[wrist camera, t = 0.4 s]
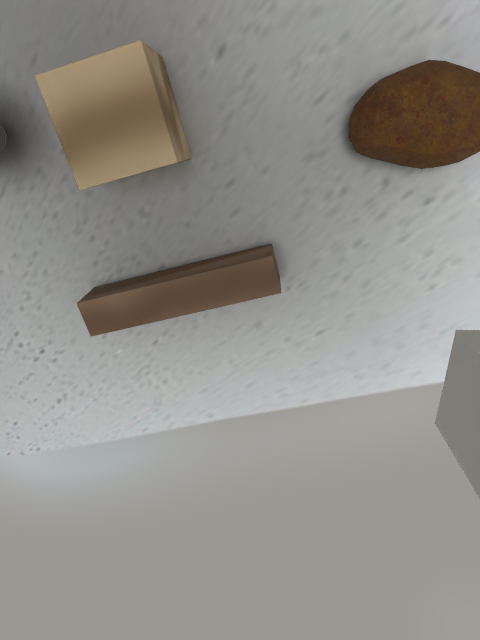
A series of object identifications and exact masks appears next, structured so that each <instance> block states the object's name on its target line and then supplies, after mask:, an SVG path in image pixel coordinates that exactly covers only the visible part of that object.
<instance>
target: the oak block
mask: <svg viewBox="0 0 480 640" xmlns="http://www.w3.org/2000/svg"><path fill="white" fill-rule="evenodd" d="M35 78H36V81H37V83H38V86H39V88H40V91H41V93H42V96H43V99H44V101H45V104H46V106H47V109H48V111H49V114H50V116H51V119H52V122H53V124H54V127H55V129H56V132H57V134H58V137H59V139H60V142H61V145H62V147H63V150H64V152H65V155H66V157H67V160H68V162H69V165H70V168H71V170H72V173H73V175H74V178H75V180H76V183H77V186H78V188H79V190H82V189H86V188H90V187H93V186H97V185H100V184H104V183H107V182H111V181H114V180H118V179H121V178H125V177H128V176H132V175H135V174H139V173H142V172H146V171H149V170H153V169H156V168H160V167H163V166H167V165H170V164H174V163H177V162H181V161H184V160H188V159H191V154H190V151H189V148H188V144H187V141H186V137H185V134H184V130H183V127H182V123H181V120H180V116H179V113H178V109H177V106H176V102H175V99H174V95H173V92H172V88H171V85H170V81H169V78H168V74H167V71H166V67H165V64H164V61H163V57H161V56H160V55H159V54H158V53H156V52H155V51H154V50H153V49H151V48H150V47H149V46H148V45H146V44H145V43H144V42H143V41H141V40H139V41H136V42H133V43H130V44H127V45H125V46H122V47H119V48H116V49H113V50H110V51H107V52H104V53H101V54H98V55H95V56H92V57H89V58H86V59H83V60H80V61H77V62H74V63H71V64H68V65H65V66H62V67H59V68H56V69H53V70H50V71H47V72H44V73H41V74H38V75H35Z"/></svg>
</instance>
